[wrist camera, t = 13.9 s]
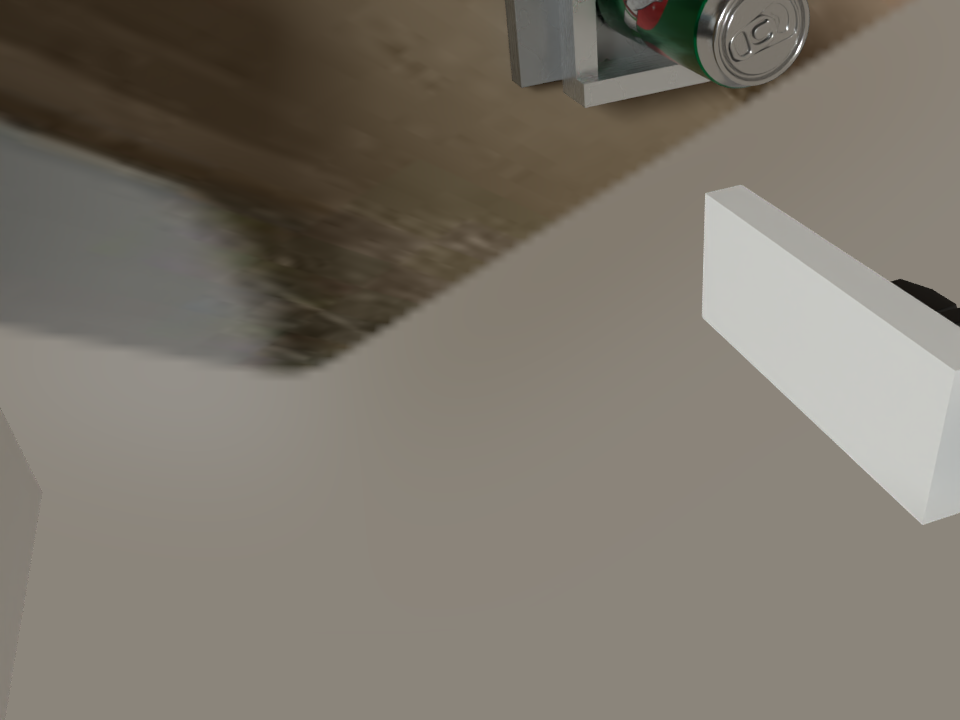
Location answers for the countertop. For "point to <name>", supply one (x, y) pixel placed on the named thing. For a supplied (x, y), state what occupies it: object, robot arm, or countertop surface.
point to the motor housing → (585, 53)
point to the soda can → (717, 34)
